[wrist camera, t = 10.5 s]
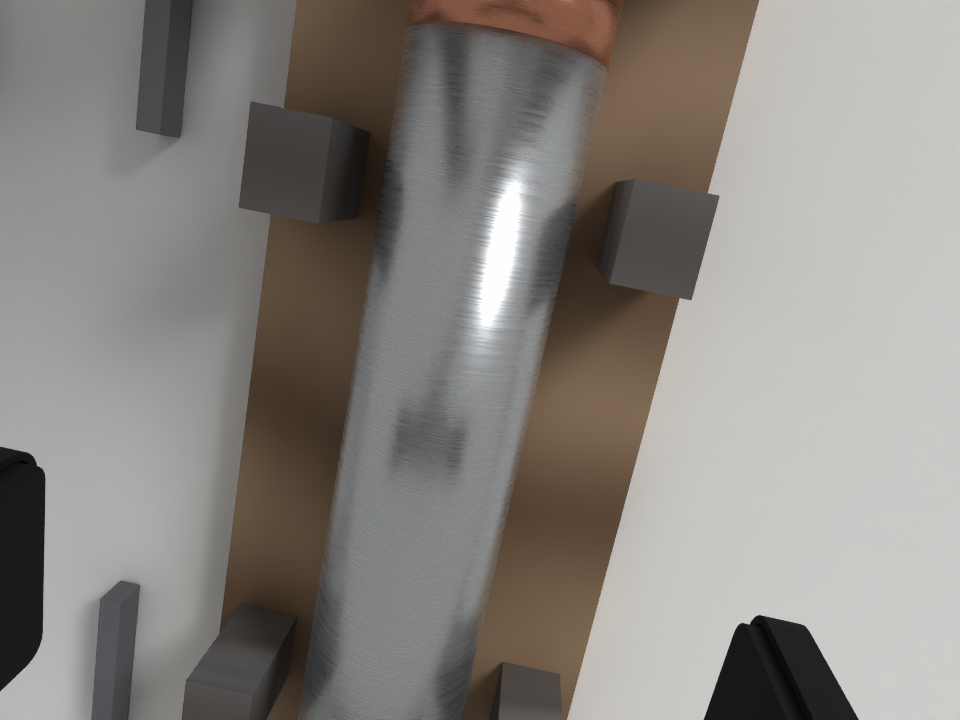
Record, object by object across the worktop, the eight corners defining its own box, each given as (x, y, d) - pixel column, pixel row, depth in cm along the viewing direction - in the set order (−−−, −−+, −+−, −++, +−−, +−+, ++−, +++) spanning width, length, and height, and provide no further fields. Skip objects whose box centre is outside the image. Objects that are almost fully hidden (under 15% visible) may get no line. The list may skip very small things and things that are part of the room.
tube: (428, -84, 15) (431, -172, 11) (609, -38, 16) (672, -108, 12) (284, 817, 21) (253, 966, 17) (420, 828, 21) (420, 975, 17)
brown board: (350, -276, 16) (95, -933, 7) (797, -193, 15) (1181, -758, 6) (204, 857, 23) (-8, 1285, 14) (502, 926, 23) (482, 1408, 14)
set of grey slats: (-43, -126, 17) (-78, -145, 16) (199, -79, 17) (178, -95, 16) (-56, 683, 22) (-82, 705, 21) (127, 724, 22) (108, 748, 21)
